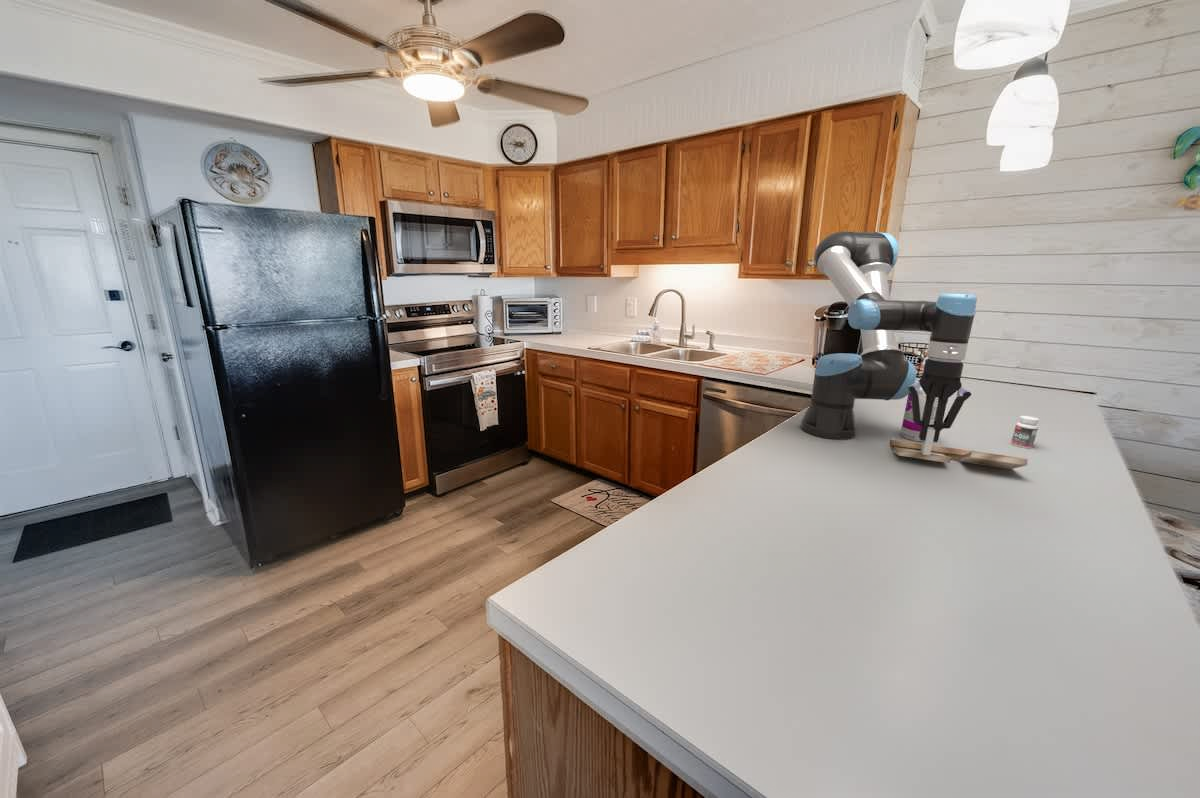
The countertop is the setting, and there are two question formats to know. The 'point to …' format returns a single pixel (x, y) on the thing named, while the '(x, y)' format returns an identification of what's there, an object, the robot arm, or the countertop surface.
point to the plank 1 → (921, 455)
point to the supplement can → (908, 425)
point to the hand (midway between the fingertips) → (925, 453)
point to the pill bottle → (1025, 432)
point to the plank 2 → (993, 460)
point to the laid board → (945, 451)
